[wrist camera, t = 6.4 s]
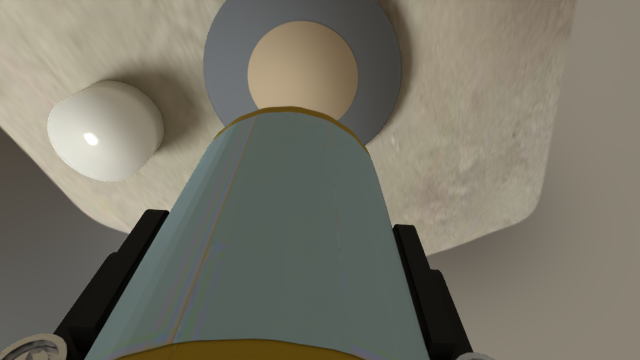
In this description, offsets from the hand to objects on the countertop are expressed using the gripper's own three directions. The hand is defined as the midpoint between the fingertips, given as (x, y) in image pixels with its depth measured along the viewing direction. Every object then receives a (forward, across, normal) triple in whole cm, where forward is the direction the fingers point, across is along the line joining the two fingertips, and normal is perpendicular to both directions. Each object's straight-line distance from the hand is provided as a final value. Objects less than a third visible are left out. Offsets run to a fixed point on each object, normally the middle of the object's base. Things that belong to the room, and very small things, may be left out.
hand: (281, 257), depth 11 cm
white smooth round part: (+21, +15, +5) cm, 26 cm away
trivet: (+20, 0, 0) cm, 20 cm away
